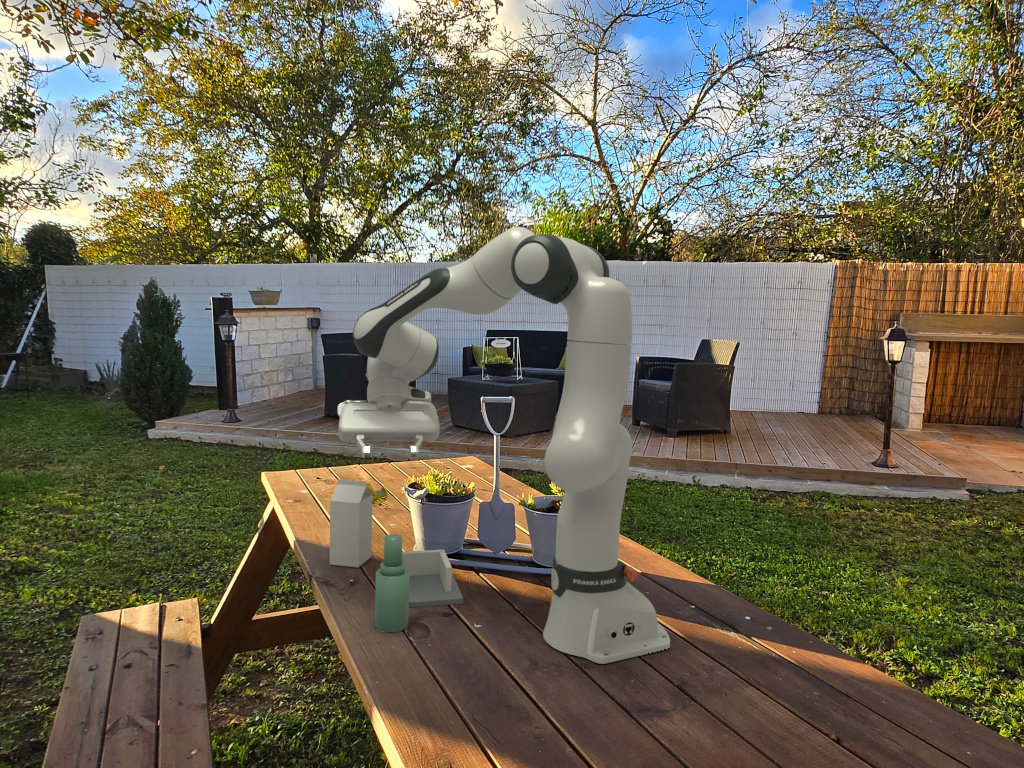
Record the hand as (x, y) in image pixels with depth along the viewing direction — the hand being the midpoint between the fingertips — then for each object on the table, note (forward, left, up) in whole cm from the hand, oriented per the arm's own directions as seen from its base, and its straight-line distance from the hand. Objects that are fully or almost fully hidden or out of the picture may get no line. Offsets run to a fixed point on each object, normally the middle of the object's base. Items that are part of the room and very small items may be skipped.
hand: (390, 456), depth 126 cm
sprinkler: (+2, -73, -29) cm, 78 cm away
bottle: (0, +12, -29) cm, 31 cm away
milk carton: (+7, -22, -29) cm, 37 cm away
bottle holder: (-7, -4, -29) cm, 30 cm away
